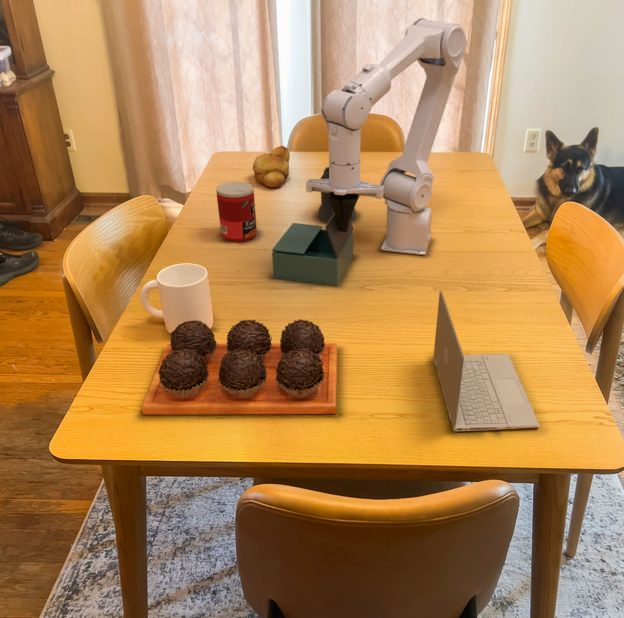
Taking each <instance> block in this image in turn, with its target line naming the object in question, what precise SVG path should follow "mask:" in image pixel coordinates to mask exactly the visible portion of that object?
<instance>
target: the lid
mask: <svg viewBox="0 0 624 618" xmlns="http://www.w3.org/2000/svg"><path fill="white" fill-rule="evenodd" d="M352 222H353V221H352ZM352 222H351V220H350V225H349V229H348V231H347V232H341V231H340V227H339V223H338V219H337V217H336V214H335V213H334V214H333V216H332V217H331V218H330V220H329V221H328V223H325V226H324V229H325V230H326V231H327V234H328V236H329V239H330V242H331V244H332V247H333V250H334V252H335V255H336V257H338V256H339V254H340V252H341V251H342V249H343V247H344V246H345V244H346V242H347V240H348V239H349V237H350V235H351V234H352V233H354V230H355V229H354V225H353V223H352Z"/></svg>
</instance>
